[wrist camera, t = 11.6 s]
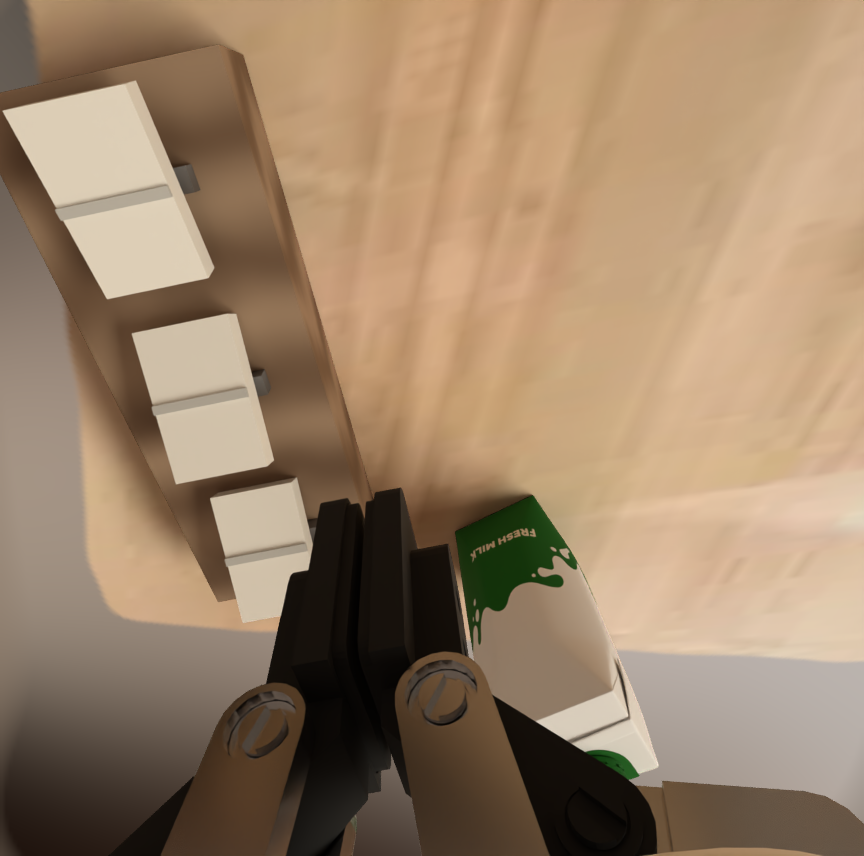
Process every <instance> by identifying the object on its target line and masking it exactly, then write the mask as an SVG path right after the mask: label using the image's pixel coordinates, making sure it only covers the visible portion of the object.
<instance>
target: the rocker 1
mask: <svg viewBox="0 0 864 856" xmlns="http://www.w3.org/2000/svg"><path fill="white" fill-rule="evenodd" d="M3 113H4V115H5V117H6V119H7V120H8V122H9V124H10V126H11V128H12V129H13V131H14V133H15V135H16V137H17V138H18V140H19V142H20V144H21V146H22V147H23V149H24V151H25V153H26V155H27V156H28V158H29V160H30V162H31V163H32V165H33V167H34V169H35V171H36V172H37V174H38V176H39V178H40V180H41V181H42V183H43V185H44V187H45V189H46V190H47V192H48V194H49V196H50V198H51V199H52V201H53V203H54V205H55V207H56V208H57V209H55V211H56V213H57V215H58V217H59V219H60V220H61V221H64V223H65V225H66V226H67V228H68V230H69V232H70V234H71V235H72V237H73V239H74V241H75V243H76V244H77V246H78V248H79V250H80V252H81V253H82V255H83V257H84V259H85V261H86V262H87V264H88V266H89V268H90V270H91V271H92V273H93V275H94V277H95V279H96V280H97V282H98V284H99V286H100V288H101V289H102V291H103V293H104V295H105V297H106V298H107V299H111V298H116V297H120V296H125V295H130V294H135V293H140V292H144V291H149V290H154V289H159V288H164V287H168V286H173V285H178V284H183V283H188V282H192V281H197V280H202V279H207V278H209V276H210V275H211V273H212V271H213V270H214V265H213V263H212V261H211V258H210V256H209V254H208V251H207V249H206V246H205V244H204V242H203V239H202V237H201V234H200V232H199V230H198V227H197V225H196V223H195V220H194V218H193V215H192V213H191V211H190V208H189V206H188V204H187V201H186V199H185V196H184V194H183V192H182V189H181V187H180V184H179V182H178V180H177V177H176V175H175V173H174V170H173V168H172V165H171V163H170V161H169V158H168V156H167V154H166V151H165V149H164V146H163V144H162V142H161V139H160V137H159V134H158V132H157V130H156V127H155V125H154V123H153V120H152V118H151V115H150V113H149V111H148V108H147V106H146V104H145V101H144V99H143V96H142V94H141V92H140V89H139V87H138V84H137V82H136V80H135V81H131V82H126V83H122V84H117V85H113V86H108V87H104V88H99V89H94V90H90V91H85V92H81V93H76V94H72V95H67V96H63V97H58V98H54V99H49V100H45V101H40V102H36V103H31V104H26V105H22V106H18V107H14V108H11V109H7V110H3Z"/></svg>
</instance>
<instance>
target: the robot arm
mask: <svg viewBox="0 0 864 856" xmlns="http://www.w3.org/2000/svg"><path fill="white" fill-rule="evenodd" d="M391 754H392V757H393V760H394V763H395V765H396V768H397V771H398V773H399V776H400V779H401V782H402V784H403V787H404V790H405V792H406V794H408V795H409V796H410V797H411V798H412V804H413V809H414V815H415V820H416V826H417V832H418V837H419V843H420V848H421V854H422V856H864V824H863V823H862V822H861V821H860V820H859V819H858V818H857V817H856V816H855V815H854V814H853V813H852V812H851V811H850V810H848V809H847V808H846V807H844V806H842V805H840V804H838V803H837V802H835V801H833V800H831V799H829V798H828V797H826V796H822V795H817V794H813V793H809V792H805V791H794V790H780V789H767V788H753V787H739V786H725V785H711V784H698V783H684V782H670V781H662V788H659V787H647V786H635V785H634V784H632V783H631V782H630V781H629V780H628V779H627V778H625V777H624V776H623V775H621V774H620V773H618V772H617V771H615V770H613V769H612V768H610V767H609V766H607V765H605V764H604V763H602V762H600V761H599V760H597V759H596V758H594V757H592V756H591V755H589V754H588V753H586V752H584V751H583V750H581V749H579V748H578V747H576V746H575V745H573V744H571V743H570V742H568V741H567V740H565V739H563V738H562V737H560V736H558V735H557V734H555V733H554V732H552V731H550V730H549V729H547V728H546V727H544V726H542V725H541V724H539V723H537V722H536V721H534V720H533V719H531V718H529V717H528V716H526V715H525V714H523V713H521V712H520V711H518V710H516V709H515V708H513V707H512V706H510V705H508V704H507V703H505V702H504V701H502V700H500V699H499V698H497V697H495V696H494V695H492V693H491V690H490V687H489V684H488V682H487V679H486V676H485V675H484V673H483V671H482V669H481V668H480V666H479V665H478V664H477V663H476V662H474V661H473V660H472V659H471V658H469V656H468V649H467V642H466V636H465V629H464V622H463V615H462V609H461V603H460V597H459V591H458V586H457V581H456V576H455V571H454V566H453V562H452V557H451V553H450V549H449V545H448V544H444V545H439V546H433V547H428V548H423V549H418V548H417V545H416V541H415V537H414V533H413V529H412V525H411V521H410V517H409V513H408V509H407V505H406V502H405V498H404V494H403V491H402V488H396V489H391V490H386V491H381V492H376V493H375V495H374V500H371V501H366V506H365V518H364V515H363V512H362V509H361V506H360V504H359V503H355V504H351V503H350V501H349V499H348V498H344V499H339V500H334V501H328V502H323V503H321V504H320V507H319V513H318V519H317V524H316V530H315V535H314V541H313V546H312V552H311V558H310V563H309V569H308V570H305V571H300V572H295V573H292V574H291V576H290V578H289V581H288V585H287V590H286V595H285V599H284V604H283V608H282V613H281V618H280V622H279V627H278V631H277V636H276V641H275V646H274V650H273V654H272V659H271V664H270V668H269V673H268V678H267V682H266V684H264V685H260V686H258V687H256V688H253V689H251V690H249V691H247V692H246V693H244V694H243V695H242V696H240V697H239V698H237V699H236V700H235V701H234V702H233V703H232V704H231V705H230V706H229V707H228V708H227V710H226V711H225V712H224V713H223V715H222V717H221V718H220V720H219V722H218V724H217V725H216V728H215V730H214V732H213V735H212V737H211V739H210V742H209V744H208V746H207V749H206V751H205V754H204V756H203V758H202V760H201V763H200V765H199V767H198V770H197V772H196V774H195V776H194V777H192V778H191V779H190V780H189V781H188V782H187V783H186V784H185V785H184V786H183V787H182V788H181V789H180V790H179V791H177V792H176V793H175V794H174V795H173V796H172V797H171V798H170V799H169V800H168V801H167V802H166V803H165V804H164V805H162V806H161V807H160V808H159V809H158V810H157V811H156V812H155V813H154V814H153V815H152V816H151V817H150V818H149V819H147V820H146V821H145V822H144V823H143V824H142V825H141V826H140V827H139V828H138V829H137V830H136V831H135V832H134V833H133V834H131V835H130V836H129V837H128V838H127V839H126V840H125V841H124V842H123V843H122V844H121V845H120V846H119V847H117V848H116V849H115V850H114V851H113V852H112V853H111V854H110V855H109V856H352V854H353V848H354V842H355V837H356V823H357V819H356V813H357V812H358V811H359V810H360V809H361V807H362V806H363V805H364V804H365V803H366V801H367V800H368V793H374V792H379V791H381V770H387V769H390V766H391Z"/></svg>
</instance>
